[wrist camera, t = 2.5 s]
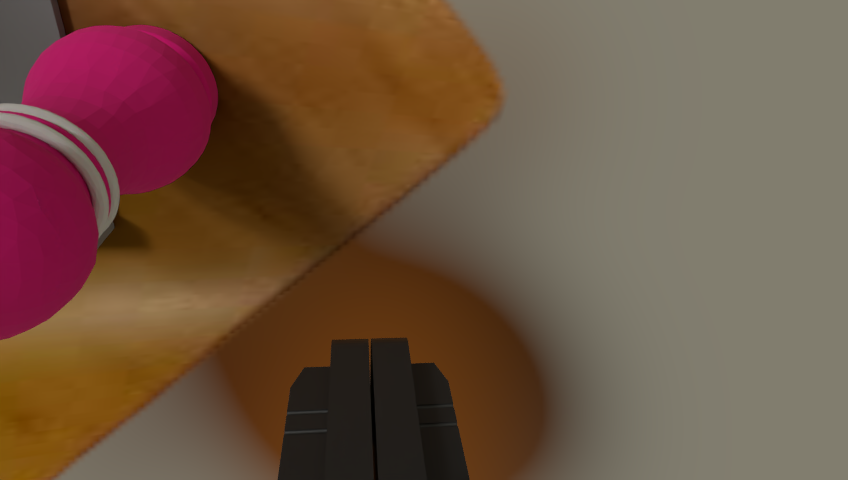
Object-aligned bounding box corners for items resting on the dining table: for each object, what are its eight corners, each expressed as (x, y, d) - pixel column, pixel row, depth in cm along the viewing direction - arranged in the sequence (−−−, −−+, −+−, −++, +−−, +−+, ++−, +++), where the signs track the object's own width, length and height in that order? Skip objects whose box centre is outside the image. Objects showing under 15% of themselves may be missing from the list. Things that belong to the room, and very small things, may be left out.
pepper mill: (76, -4, 25) (-521, 118, 8) (234, 34, 27) (24, 204, 10) (82, 139, 28) (-330, 445, 11) (223, 164, 30) (52, 467, 13)
